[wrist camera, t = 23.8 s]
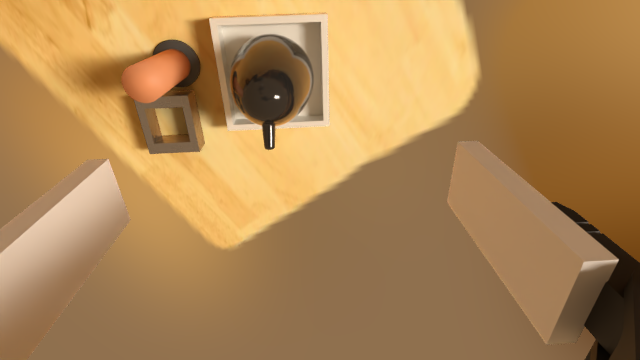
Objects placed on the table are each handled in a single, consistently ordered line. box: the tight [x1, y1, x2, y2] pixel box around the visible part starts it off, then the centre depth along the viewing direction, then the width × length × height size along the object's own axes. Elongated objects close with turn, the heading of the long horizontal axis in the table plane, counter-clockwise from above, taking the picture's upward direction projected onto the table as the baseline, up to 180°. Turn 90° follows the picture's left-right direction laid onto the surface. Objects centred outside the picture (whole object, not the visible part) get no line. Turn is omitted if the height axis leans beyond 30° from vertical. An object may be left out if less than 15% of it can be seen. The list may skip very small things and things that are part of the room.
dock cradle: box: [209, 13, 330, 131], centre depth 45 cm, size 14×14×3 cm
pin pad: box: [153, 40, 200, 87], centre depth 45 cm, size 6×6×1 cm
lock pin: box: [122, 49, 191, 103], centre depth 40 cm, size 4×4×11 cm
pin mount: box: [134, 90, 205, 154], centre depth 48 cm, size 8×7×3 cm
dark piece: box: [229, 34, 314, 150], centre depth 39 cm, size 10×10×15 cm
